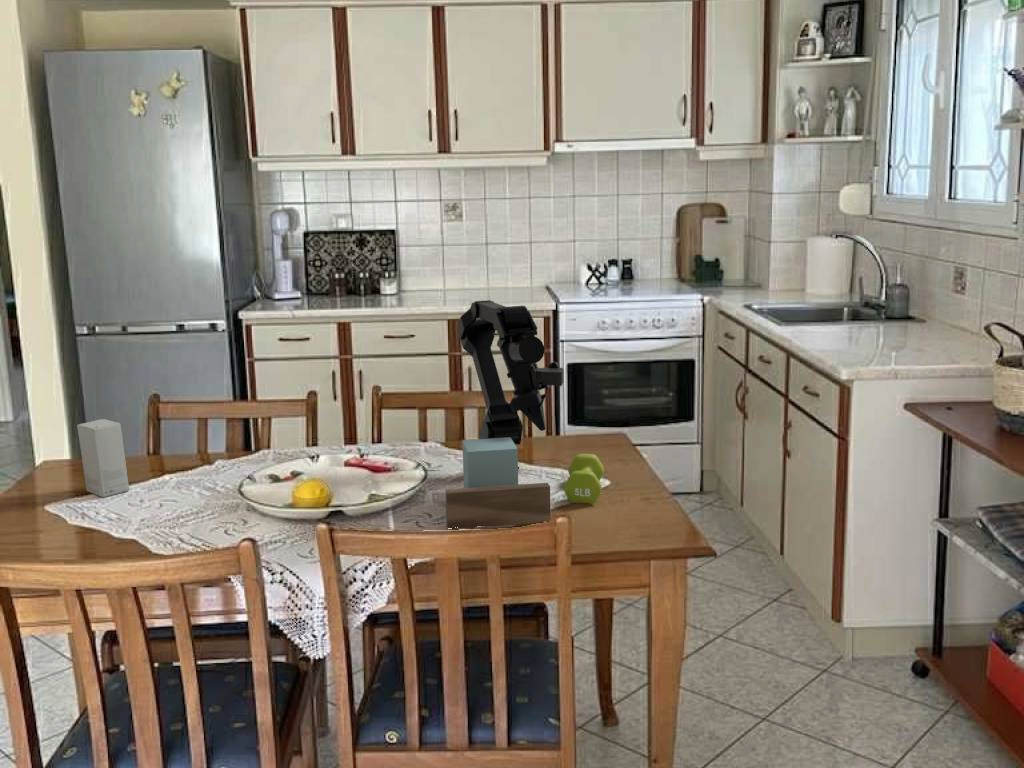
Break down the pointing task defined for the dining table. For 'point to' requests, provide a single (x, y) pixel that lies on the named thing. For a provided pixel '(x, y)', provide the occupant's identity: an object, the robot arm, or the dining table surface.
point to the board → (498, 505)
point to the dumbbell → (584, 479)
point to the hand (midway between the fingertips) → (543, 430)
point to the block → (490, 462)
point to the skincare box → (103, 457)
